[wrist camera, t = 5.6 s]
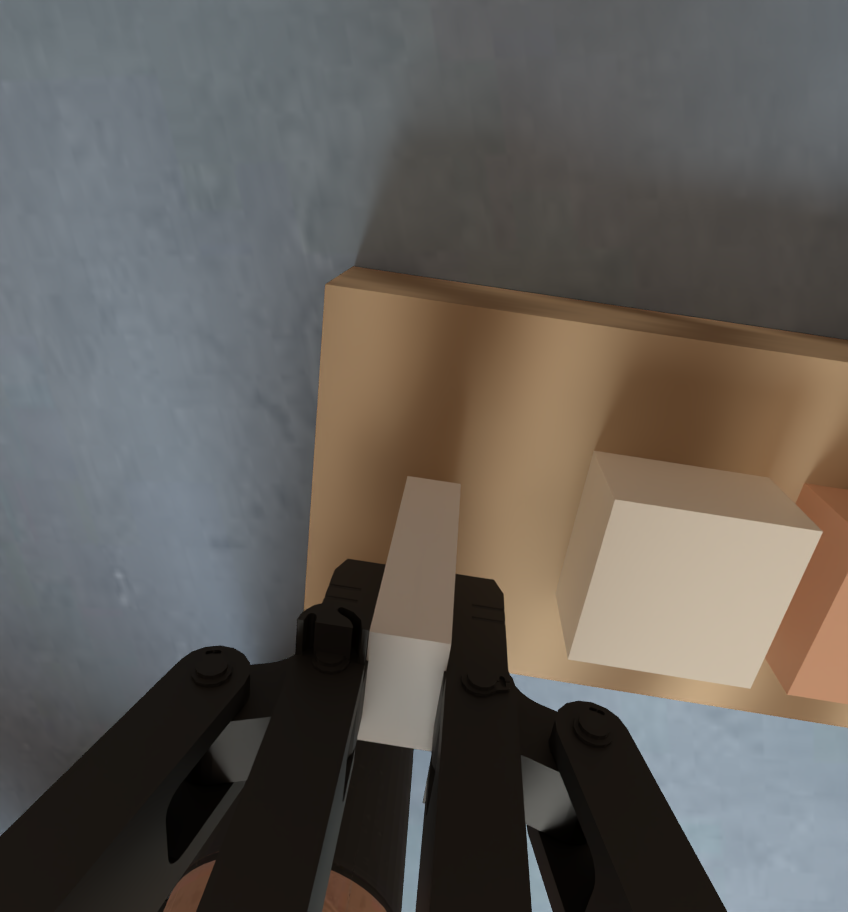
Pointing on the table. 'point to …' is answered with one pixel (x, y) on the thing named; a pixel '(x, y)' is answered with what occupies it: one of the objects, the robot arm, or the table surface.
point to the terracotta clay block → (818, 607)
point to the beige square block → (680, 569)
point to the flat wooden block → (552, 438)
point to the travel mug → (342, 838)
